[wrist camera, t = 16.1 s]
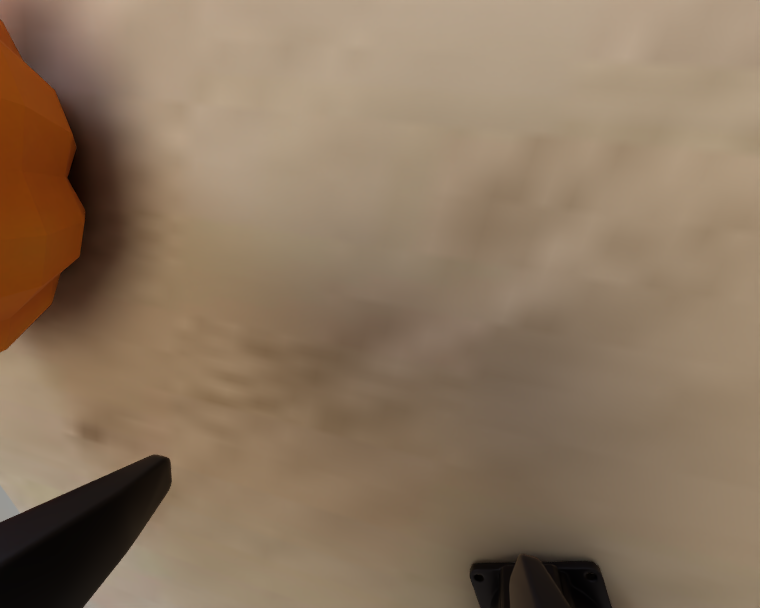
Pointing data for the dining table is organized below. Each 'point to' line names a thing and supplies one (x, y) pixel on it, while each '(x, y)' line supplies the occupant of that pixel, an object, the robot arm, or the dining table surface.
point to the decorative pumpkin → (33, 194)
